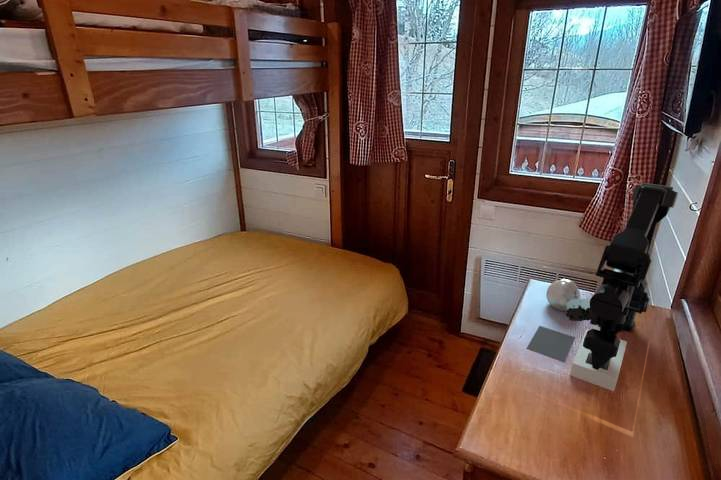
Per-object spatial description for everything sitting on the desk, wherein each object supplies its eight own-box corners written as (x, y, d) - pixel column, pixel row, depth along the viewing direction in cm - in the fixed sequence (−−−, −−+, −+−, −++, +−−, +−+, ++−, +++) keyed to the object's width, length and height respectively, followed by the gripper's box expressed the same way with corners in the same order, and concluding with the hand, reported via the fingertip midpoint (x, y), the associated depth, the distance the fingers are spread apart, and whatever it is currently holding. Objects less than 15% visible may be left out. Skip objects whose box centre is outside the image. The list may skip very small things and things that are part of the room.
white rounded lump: (541, 312, 124) (547, 281, 120) (546, 297, 132) (552, 268, 128) (575, 321, 120) (583, 290, 116) (579, 305, 128) (586, 275, 124)
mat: (539, 327, 118) (539, 325, 117) (575, 339, 113) (575, 337, 113) (525, 350, 109) (526, 348, 108) (564, 364, 104) (564, 362, 104)
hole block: (583, 342, 112) (586, 329, 110) (623, 354, 107) (627, 341, 105) (569, 376, 100) (572, 363, 98) (613, 393, 95) (617, 379, 93)
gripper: (582, 271, 103) (569, 325, 110) (563, 305, 90) (550, 366, 96) (636, 284, 97) (619, 341, 104) (625, 323, 84) (607, 387, 90)
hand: (598, 357), depth 98 cm, fingers open, 9 cm apart
